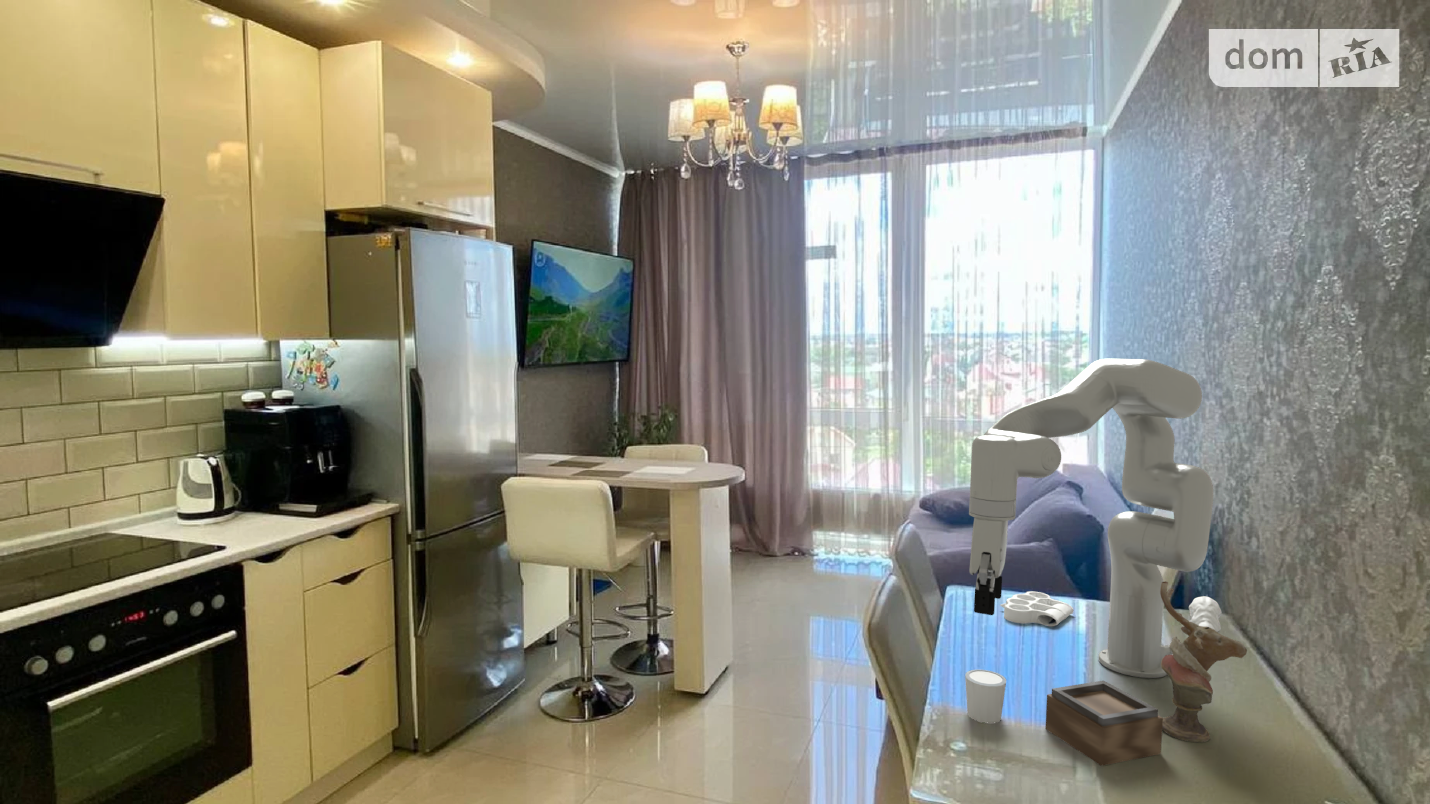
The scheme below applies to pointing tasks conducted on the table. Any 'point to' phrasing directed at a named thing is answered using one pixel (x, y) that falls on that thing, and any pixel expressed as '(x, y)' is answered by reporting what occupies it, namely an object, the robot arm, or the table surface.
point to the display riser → (1104, 722)
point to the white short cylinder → (985, 695)
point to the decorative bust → (1193, 672)
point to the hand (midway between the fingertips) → (987, 605)
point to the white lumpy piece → (1205, 613)
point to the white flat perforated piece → (1035, 609)
